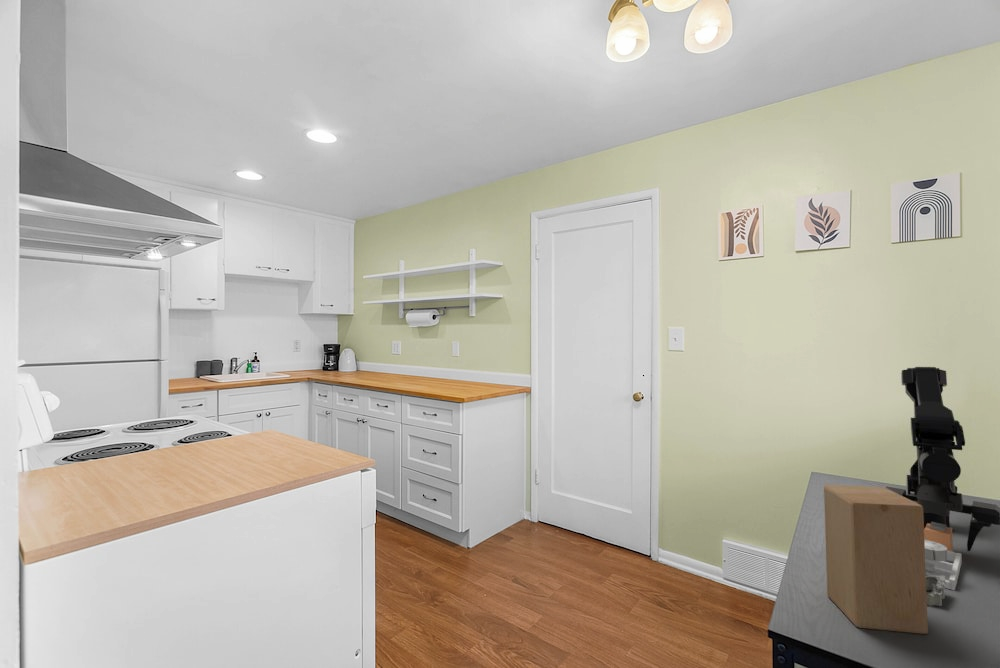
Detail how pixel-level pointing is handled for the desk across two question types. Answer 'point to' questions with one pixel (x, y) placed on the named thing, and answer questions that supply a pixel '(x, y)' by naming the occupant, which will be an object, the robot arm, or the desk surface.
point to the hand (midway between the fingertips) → (938, 544)
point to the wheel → (935, 551)
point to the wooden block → (876, 558)
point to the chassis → (946, 569)
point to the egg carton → (935, 589)
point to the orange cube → (939, 534)
